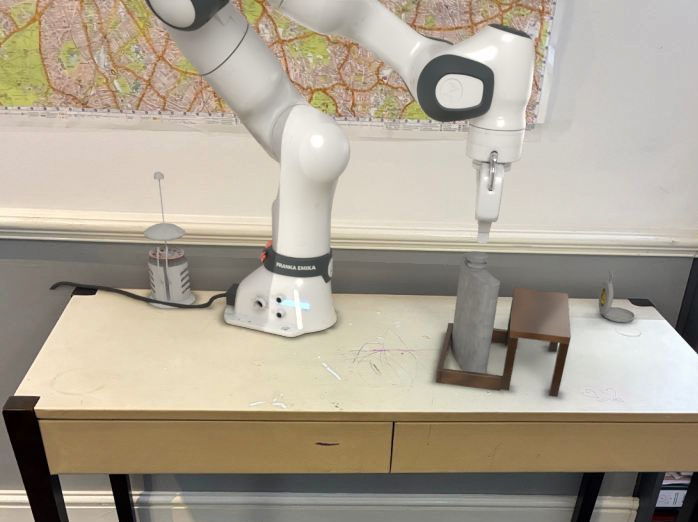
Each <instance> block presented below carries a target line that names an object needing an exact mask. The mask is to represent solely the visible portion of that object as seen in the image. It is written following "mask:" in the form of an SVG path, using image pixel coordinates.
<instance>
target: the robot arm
mask: <svg viewBox="0 0 698 522" xmlns="http://www.w3.org/2000/svg"><path fill="white" fill-rule="evenodd" d="M144 1H145V3H146V5H147V7H148V8H149V10H150V11H151V13H152V14H153V15H154V16H155V17H156V18H157V19H158V20H159V21H161V22H160V23H162V25H163V27H164V29H165V31H166V32H167V34H168V35H169V36H170V38H171V40H172V42H173V43H174V44H175V46H176V47H177V49H178V50H179V51H180V53H181V54H182V55H183V57H184V58H185V59H186V60H187V62H188V64H190V66H191V67H192V68H193V69H194V70H195V71H196V72H197V73H198V74H199V76H200V77H201V78H202V79H203V80H204V81H205V82H206V83H207V85H208V86H209V87H210V88H211V89H212V90H213V91H214V92H215V93H216V94H217V95H218V97H219V98H220V99H221V100H222V101H223V102H224V103H225V104H226V105H227V107H228V108H229V109H230V110H231V111H232V112H233V113H234V114H235V116H236V117H237V118H238V119H239V121H240V123H241V124H242V125H243V126H244V127H245V129H246V130H247V132H249V134H250V135H251V136H252V138H254V140H255V141H256V143H258V144H259V146H260V147H261V149H263V150H264V151H265V152H266V154H267V155H268V156H269V157H270V158H271V159H272V160H274V161H275V162H277V164H279V168H280V174H279V175H280V176H279V183H278V188H277V194H276V196H275V199H273V202H272V203H271V204H272V205H271V208H270V209H271V239H269V240H268V242H266V244H265V247H264V249H263V250H262V253H261V255H260V262H262V263H263V264H261V265H260V266H259V267H257V268H256V269H255V270H253V271H252V272H250V273H249V274H248V275H246V276H245V277H244V278H243V279H242V280H241V281H240V283H235V282H234V283H233V284H231V286H230V287H229V288H228V289H227V291H225V292H222V293H218V294H214V295H212V296H211V297H210V298H209V300H208V301H207V302H205V303H200V304H190V305H186V304H179V303H170V302H163V301H158V300H154V299H150V298H149V297H146V296H142V295H140V294H139V295H138V294H135V293H133V292H129V291H127V290H124V289H120V288H115V287H111V286H110V287H109V286H104V285H96V284H86V283H85V284H84V283H77V282H73V281H64V280H63V281H58V282H55V283H54V284H52V285H51V286H50V287H49V290H50V291H54V290H56V289H57V288H59V287H61V286H68V287H74V288H80V289H87V290H88V289H90V290H98V291H99V290H102V291H107V292H112V293H116V294H121V295H124V296H128V297H130V298H134V299H136V300H139V301H143V302H147V303H149V302H151V303H156V304H162V305H167V306H172V307H180V308H179V309H204V308H207V307H210V306H211V305H212V304H213V303H214V301H215V300H218V299H221V298H225V302H226V303H225V305H226V307H225V309H224V312H223V320H224V322H225V324H228V325H232V326H236V327H241V328H247V329H251V330H255V331H260V332H265V333H268V334H273V335H278V336H283V337H287V338H296V337H298V336H301V335H304V334H309V333H315V332H320V331H323V330H326V329H329V328H331V327H333V326H334V325H335V324H336V323H337V320H338V317H337V316H338V315H337V313H336V309H335V304H334V299H333V298H334V297H333V291H332V278H333V272H334V271H333V270H334V257H333V248H332V247H331V234H332V233H331V231H332V230H331V229H332V209H333V203H334V198H335V193H336V189H337V185H338V181H339V178H340V177H341V176H342V174H343V173H344V172H345V171H346V169H347V167H348V165H349V162H350V158H351V143H350V140H349V137H348V136H347V134H346V132H345V131H344V129H343V128H342V127H341V125H340V124H339V123H338V121H337V120H336V119H335V118H334V117H332V116H331V115H330V114H328V113H325V112H323V111H322V110H320V109H318V108H316V107H315V106H313V105H311V104H310V103H309V102H308V101H306V99H304V98H303V96H302V95H301V94H300V93H299V91H298V90H297V89H296V87H295V85H294V84H293V82H292V81H291V79H290V78H289V76H288V75H287V72H286V71H285V69H284V68H283V64H282V62H281V60H280V59H279V58H278V57H277V55H276V54H275V53H274V52H273V50H272V49H271V48H270V47H269V46H268V44H267V43H266V42H265V40H264V39H263V38H262V37H261V36H260V35H259V33H258V32H257V31H256V30H255V29H254V27H253V26H252V25H251V23H250V22H249V21H248V19H247V18H246V17H245V16H244V15H243V14H242V12H241V11H240V10H239V8H237V7H236V5H235V4H234V3H233V2H232V0H144ZM265 1H266V3H268V4H269V5H271V6H272V7H273V8H274V9H276V10H277V11H279V12H280V13H281V14H283V15H284V16H285V17H287V18H288V19H290V20H291V21H293V22H295V23H296V24H298V25H301V26H302V27H304V28H306V29H308V30H310V31H311V32H315V33H316V34H319V35H323V36H336V37H342V38H345V39H348V40H350V41H352V42H355V43H356V44H358V45H359V46H361V47H362V48H364V49H365V50H367V52H369V53H370V54H372V55H373V56H374V57H376V58H377V59H379V60H380V61H381V62H382V63H384V64H385V65H387V66H388V67H389V68H391V69H392V70H393V71H394V72H395V73H396V74H397V75H398V76H399V77H400V79H401V80H402V82H403V84H404V86H405V88H406V90H407V92H408V94H409V96H410V97H411V98H412V100H413V101H414V102H415V103H416V104H417V105H418V106H419V108H420V109H421V111H422V112H423V113H424V114H425V115H426V116H427V117H428V118H430V119H431V120H433V121H436V122H439V123H452V122H460V121H466V120H468V129H467V138H466V146H465V155H466V156H467V157H468V158H470V159H472V161H471V163H472V164H471V166H472V168H473V169H475V174H476V175H475V179H476V182H475V183H476V184H475V187H476V189H475V206H474V207H475V209H474V219H475V220H476V221H477V225H478V227H477V235H476V236H477V237H476V242H477V244H481V245H483V244H484V245H486V244H487V243H489V237H490V232H491V228H492V225H493V223H496V222H497V221H498V219H499V216H500V209H501V202H502V195H503V188H504V179H505V173H506V172H510V171H511V170H512V166H513V163H516V162H519V161H520V160H521V158H522V154H523V153H522V152H523V147H524V139H525V133H526V129H527V128H526V127H527V120H526V119H527V118H526V111H527V107H528V104H529V102H530V99H531V97H532V96H531V95H532V89H533V81H534V74H535V73H534V72H535V63H536V62H535V61H536V47H535V42H534V40H533V38H532V37H531V36H530V34H528V33H527V32H525V31H523V30H521V29H517V28H516V27H513V26H509V25H506V24H502V23H488V24H486V25H485V26H484V27H483V28H482V29H481V30H479V31H478V32H477V33H475V34H473V35H472V36H470V37H467V38H465V39H464V40H462V41H459V42H457V43H453V42H451V41H450V40H447V39H444V38H439V37H433V36H428V35H424V34H422V33H420V32H419V31H418V30H416V29H414V28H413V27H411V26H410V25H409V24H408V23H407V22H405V21H404V20H403V19H401V18H400V17H399V16H397V15H396V14H395V13H394V12H393V11H391V10H390V9H389V8H387V7H386V6H384V5H383V4H382V3H381V2H380V1H379V0H265Z"/></svg>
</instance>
